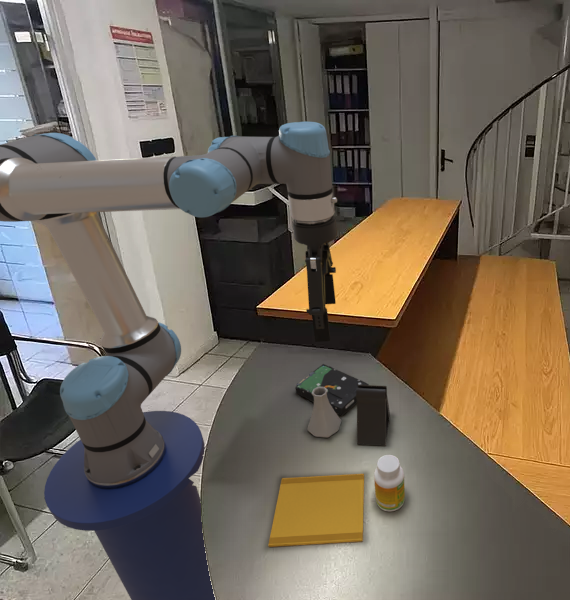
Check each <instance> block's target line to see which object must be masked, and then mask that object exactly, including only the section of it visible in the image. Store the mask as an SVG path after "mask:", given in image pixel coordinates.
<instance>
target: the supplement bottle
mask: <svg viewBox="0 0 570 600" xmlns="http://www.w3.org/2000/svg"><path fill="white" fill-rule="evenodd" d="M373 480H374V494H375V502H376V505H377V507H378V508H380V510H382V511H385V512H394V511H398V510H400V509H401V508H402V507H403V506H404V503H405V500H406V498H405V497H406V492H405V472H404V469H403V467H402V466H401V464H400V460H399V458H398V457H397V456H395V455H393V454H385V455H382V456H380V457H379V458H378V459H377V463H376V468H375V470H374V473H373Z"/></svg>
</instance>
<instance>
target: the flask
mask: <svg viewBox="0 0 570 600" xmlns="http://www.w3.org/2000/svg"><path fill="white" fill-rule="evenodd" d="M327 392H328V389H326V388H325V387H316V388H315V389H313V391H312V395H313V396H314V402H313V408H312V412H311V415H310V419H309V421H308V425H307V428H306V430H307V432H308V433H310V434H312V435H313V436H314V437H315V438H317V437H318V438H329V437H331V436H332V435H334V434H336V433H337V432H338V431H340V427H341V423H342V419H341V418H340V417H339V414H337V413H336V412H335V411H334V409H333V408H332V406H331V405H330V403H329V401H328V398H327Z"/></svg>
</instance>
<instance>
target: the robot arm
mask: <svg viewBox="0 0 570 600" xmlns="http://www.w3.org/2000/svg"><path fill="white" fill-rule="evenodd" d="M332 181H333V180H332V167H331V150H330V148H329V142H328V135H327V130H326V127H325V126H324V125H323V124H321V123H319V122H316V121H294V122H293V121H292V122H288V123H284V124H282V125H280V127H279V130H278V135H277V136H241V135H240V136H239V135H230V136H219V137H216V138H214V139H212V141H211V144H210V146H209V147H208V149H207V152H206V153H204V154H198V155H180V156H176V155H175V156H157V157H155V156H154V157H137V158H135V157H134V158H120V159H119V158H118V159H99V160H98V159H97V158H96V156H95V155H94V153H92V151H91V150H90V149H89V148H88V147H87V146H86V145H85V144H83V143H82V142H80V141H79V140H76V139H75V138H74V137H72V136H70V135H68V134H66V133H65V134H64V133H60V132H48V133H47V132H46V133H39V134H33V135H29V136H26V137H23V138H18V139H16V140H15V139H14V140H12V141H8V142H4V143H2V144H1V143H0V222H8V223H9V222H11V223H12V222H13V223H17V222H18V223H19V222H34V223H37V224H40V225H41V226H45V227H46V228H47V230H48V232H49V234H50V236H51V238H52V239H53V241H54V243H55V245H56V247H57V249H58V250H59V252H60V254H61V256H62V258H63V260H64V261H65V263H66V265H67V267H68V269H69V270H70V273H71V274H72V276H73V278H74V280H75V281H76V284H77V285H78V287H79V289H80V291H81V292H82V294H83V297H84V298H85V300H86V302H87V304H88V306H89V307H90V310H91V311H92V313H93V315H94V317H95V319H96V320H97V322H98V324H99V326H100V328H101V330H102V332H103V334H102V336H101V338H100V340H99V343H100V346H101V347H102V349H103V351H104V353H105V354H106V355H103V356H98V357H93V358H91V359H89V360H88V361H87V362H82V363H80V364H79V365H77V366H75V367H74V368H73V369H72V370H70V372H68V374H66V376H65V377H64V378H63V381H62V382H61V384H60V388H59V395H60V399H61V401H62V405H63V409H64V411H65V414H67V415H68V418H69V419H70V421H71V423H72V425H73V427H74V430H75V431H76V433H77V436H78V437H79V440H80V439H81V441H82V443H83V445H84V472H85V475H86V477H87V479H88V481H89V482H90V483H91V484H92V485H93V486H95V487H97V488H100V489H117V488H122V487H125V486H128V485H131V484H133V483H135V482H137V481H139V480H141V479H143V478H144V477H146V476H147V475H149V474H150V473H151V472H152V471H153V470H155V469H156V468H157V466H158V465H159V464H160V463H161V461H162V460H163V458H164V455H165V452H166V445H165V442H164V439H163V437H162V435H161V434H160V433H159V432H158V431H157V430H155V429H154V428H153V427H152V426H151V425H150V424H149V423H148V422H147V421H146V419H145V417H144V414H143V412H144V411H143V409H142V404H143V403H144V402H145V401H146V399H147V398H148V397H149V396H150V395H151V394H152V393H153V391H155V390H156V388H157V387H158V386H159V385H160V384H161V382H162V381H164V379H165V378H166V377H167V376H169V375H170V374H171V373H172V372H173V370H174V368H175V367H176V365H177V364H178V362H179V361H180V359H181V355H182V345H181V341H180V339H179V337H178V335H177V333H175V331H174V330H173V329H169V328H168V327H169V326H168V325H167V324H164V323H163V322H159V321H158V319H157V318H155V317H152V316H149V315H147V314H146V311H145V310H144V308H143V305H142V303H141V301H140V299H139V297H138V295H137V292H136V291H135V288H134V287H133V285H132V283H131V281H130V278H129V276H128V274H127V272H126V270H125V268H124V266H123V264H122V262H121V260H120V258H119V256H118V254H117V250H116V249H115V247H114V246H113V243H112V241H111V239H110V236H109V235H108V233H107V230H106V228H105V227H104V225H103V222H102V219H101V218H100V216H99V214H98V213H111V212H113V213H114V212H138V211H139V212H140V211H141V212H143V211H168V210H169V211H170V210H174V211H175V210H181V211H182V212H184V213H186V214H188V215H190V216H193V217H196V218H209V217H211V216H213V215H216V214H217V213H218V214H219V213H221V212H223V211H225V210H226V209H227V208H229V206H231V204H232V203H233V202H235V201H236V200H238V199H239V198H240V197H241V196H242V195H245V194H246V193H247V192H248V191H250V190H251V189H253V188H254V187H256V186H257V185H282V184H284V185H286V189H287V197H288V205H289V206H288V207H289V211H290V212H289V213H290V217H291V218H292V219H293V220H292V223H291V224H292V231H293V238H294V241H296V243H298V244H300V245H304V246H306V250H305V252H304V253H305V254H304V255H305V260H304V262H305V268H306V280H307V297H308V298H307V299H308V300H307V301H308V308H306V310H305V311H306V314H308V315H309V316H311V321H312V327H313V335H314V336H313V337H314V342H315V343H321V342H322V343H323V342H331V331H330V324H329V323H330V322H329V313H328V308H327V307H326V305H336V292H335V283H334V275H333V274H336V273H337V267H336V266H333V265H334V262H333V258H332V254H331V248H330V243H331V242H333V241H334V240H336V238H337V236H338V229H337V220H336V216H335V211H336V210H335V204H336V203H338V198H337V197H335V196H333V195H334V193H333V182H332Z"/></svg>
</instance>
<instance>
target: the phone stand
mask: <svg viewBox="0 0 570 600" xmlns="http://www.w3.org/2000/svg"><path fill="white" fill-rule="evenodd" d="M357 387H358V388H357V390H356V398H357V403H356V443H357V445H362V446H363V445H365V446H384V447H386V445H387V439H388V432H389V426H390V419H391V412H390V411H391V410H390V406H389V398H388V388H387V387H388V386H387V385H375V384H374V385H373V384H369V385H357Z"/></svg>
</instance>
